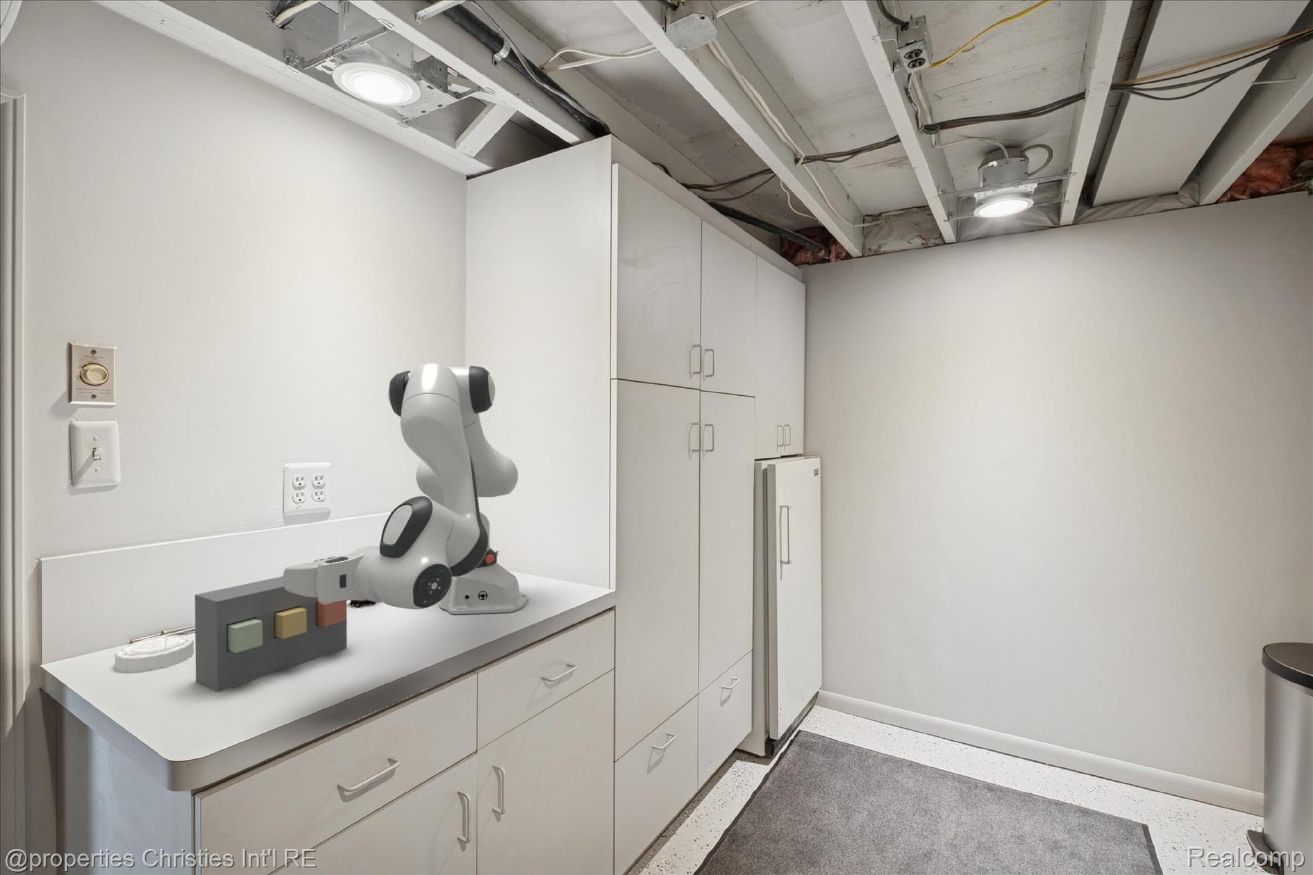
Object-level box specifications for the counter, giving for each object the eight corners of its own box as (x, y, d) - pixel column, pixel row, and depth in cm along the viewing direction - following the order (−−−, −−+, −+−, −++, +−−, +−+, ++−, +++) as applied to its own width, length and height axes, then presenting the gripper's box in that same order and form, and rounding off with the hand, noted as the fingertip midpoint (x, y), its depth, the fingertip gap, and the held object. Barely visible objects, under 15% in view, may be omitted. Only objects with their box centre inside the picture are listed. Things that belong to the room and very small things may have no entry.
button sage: (262, 645, 110) (262, 621, 109) (235, 652, 106) (235, 628, 106) (253, 641, 111) (253, 618, 111) (227, 649, 107) (227, 625, 107)
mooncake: (118, 658, 120) (118, 641, 120) (193, 645, 128) (193, 628, 128) (111, 679, 111) (111, 660, 111) (193, 663, 118) (193, 645, 118)
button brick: (345, 620, 123) (345, 599, 123) (324, 626, 120) (324, 604, 119) (336, 617, 125) (336, 596, 125) (316, 623, 121) (315, 602, 121)
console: (346, 647, 126) (346, 572, 126) (217, 691, 106) (216, 601, 105) (324, 640, 130) (324, 567, 130) (195, 681, 110) (194, 594, 109)
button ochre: (306, 631, 116) (306, 609, 116) (283, 638, 113) (282, 615, 113) (297, 629, 118) (297, 606, 118) (274, 635, 114) (274, 613, 114)
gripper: (422, 543, 111) (375, 536, 118) (312, 566, 94) (265, 556, 101) (422, 577, 112) (375, 568, 118) (313, 606, 94) (265, 593, 101)
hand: (324, 562), depth 109 cm, fingers closed
